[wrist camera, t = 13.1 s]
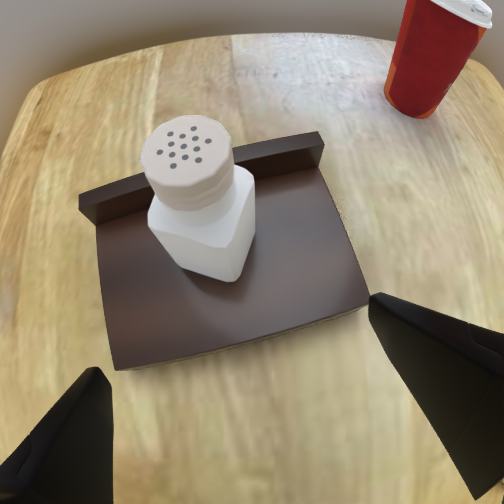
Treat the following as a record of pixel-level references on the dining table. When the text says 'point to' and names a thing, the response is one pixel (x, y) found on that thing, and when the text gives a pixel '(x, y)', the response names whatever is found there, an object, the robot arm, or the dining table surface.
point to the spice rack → (217, 291)
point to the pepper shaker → (199, 196)
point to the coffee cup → (433, 51)
